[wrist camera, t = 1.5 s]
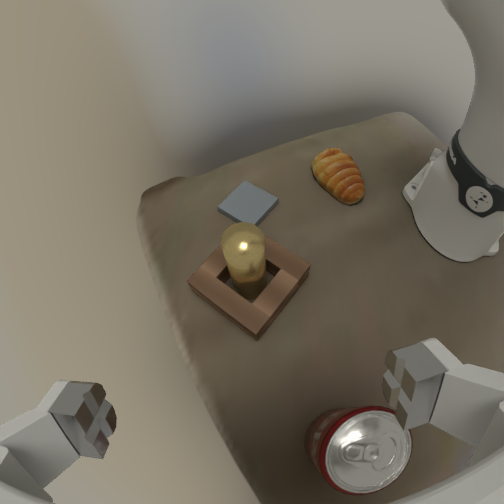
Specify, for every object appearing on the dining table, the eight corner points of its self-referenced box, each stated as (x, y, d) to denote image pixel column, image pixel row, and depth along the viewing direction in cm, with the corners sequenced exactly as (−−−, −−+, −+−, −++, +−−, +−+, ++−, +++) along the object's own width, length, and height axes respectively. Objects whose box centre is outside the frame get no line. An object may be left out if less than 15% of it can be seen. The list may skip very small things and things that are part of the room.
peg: (247, 263, 38) (239, 215, 29) (273, 280, 37) (272, 235, 28) (227, 287, 37) (211, 244, 28) (253, 305, 35) (245, 267, 26)
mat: (245, 184, 44) (244, 180, 44) (278, 202, 42) (278, 198, 41) (218, 210, 42) (217, 206, 42) (252, 231, 40) (251, 227, 39)
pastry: (373, 199, 42) (379, 182, 39) (336, 213, 41) (340, 195, 38) (341, 158, 47) (344, 141, 43) (305, 169, 46) (307, 151, 42)
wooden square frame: (244, 235, 40) (242, 221, 37) (308, 275, 37) (310, 264, 34) (193, 291, 37) (186, 281, 34) (257, 340, 33) (256, 334, 30)
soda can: (376, 413, 28) (425, 410, 17) (359, 473, 24) (400, 499, 14) (314, 402, 29) (336, 398, 19) (295, 463, 26) (307, 491, 15)
